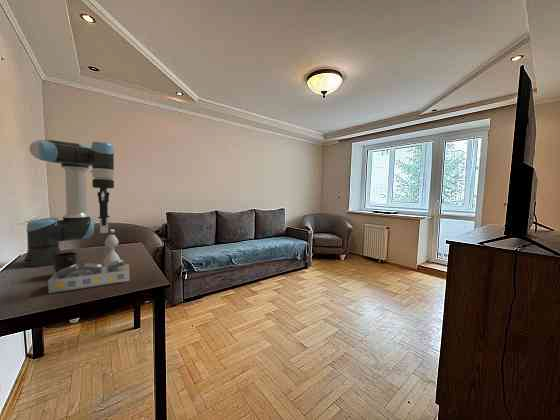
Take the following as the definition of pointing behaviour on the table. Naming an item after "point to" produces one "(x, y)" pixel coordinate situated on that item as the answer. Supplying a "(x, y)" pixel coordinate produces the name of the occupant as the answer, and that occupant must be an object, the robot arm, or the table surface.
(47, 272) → the table surface
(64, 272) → the switch
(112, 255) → the figurine
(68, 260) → the mug
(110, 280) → the console
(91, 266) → the switch
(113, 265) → the switch
